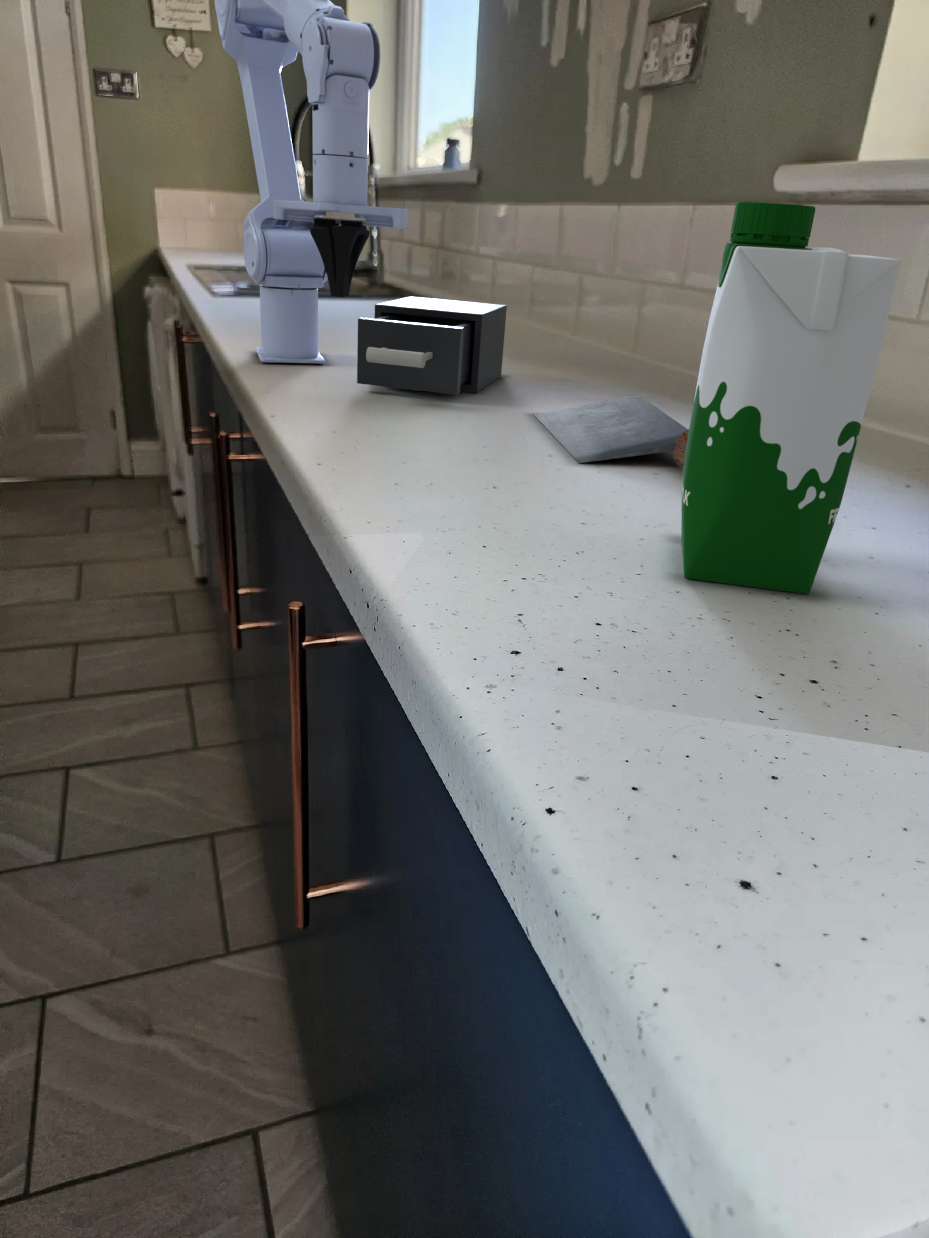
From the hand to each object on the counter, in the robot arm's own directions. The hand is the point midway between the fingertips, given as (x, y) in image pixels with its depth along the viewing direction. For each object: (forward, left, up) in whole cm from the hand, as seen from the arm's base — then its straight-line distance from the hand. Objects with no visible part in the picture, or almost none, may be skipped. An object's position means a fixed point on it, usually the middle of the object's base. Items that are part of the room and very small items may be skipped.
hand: (339, 296), depth 96 cm
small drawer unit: (-4, +13, -9) cm, 17 cm away
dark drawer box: (+5, +8, -9) cm, 13 cm away
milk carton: (+59, +16, -10) cm, 62 cm away
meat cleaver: (+34, +21, -10) cm, 41 cm away
